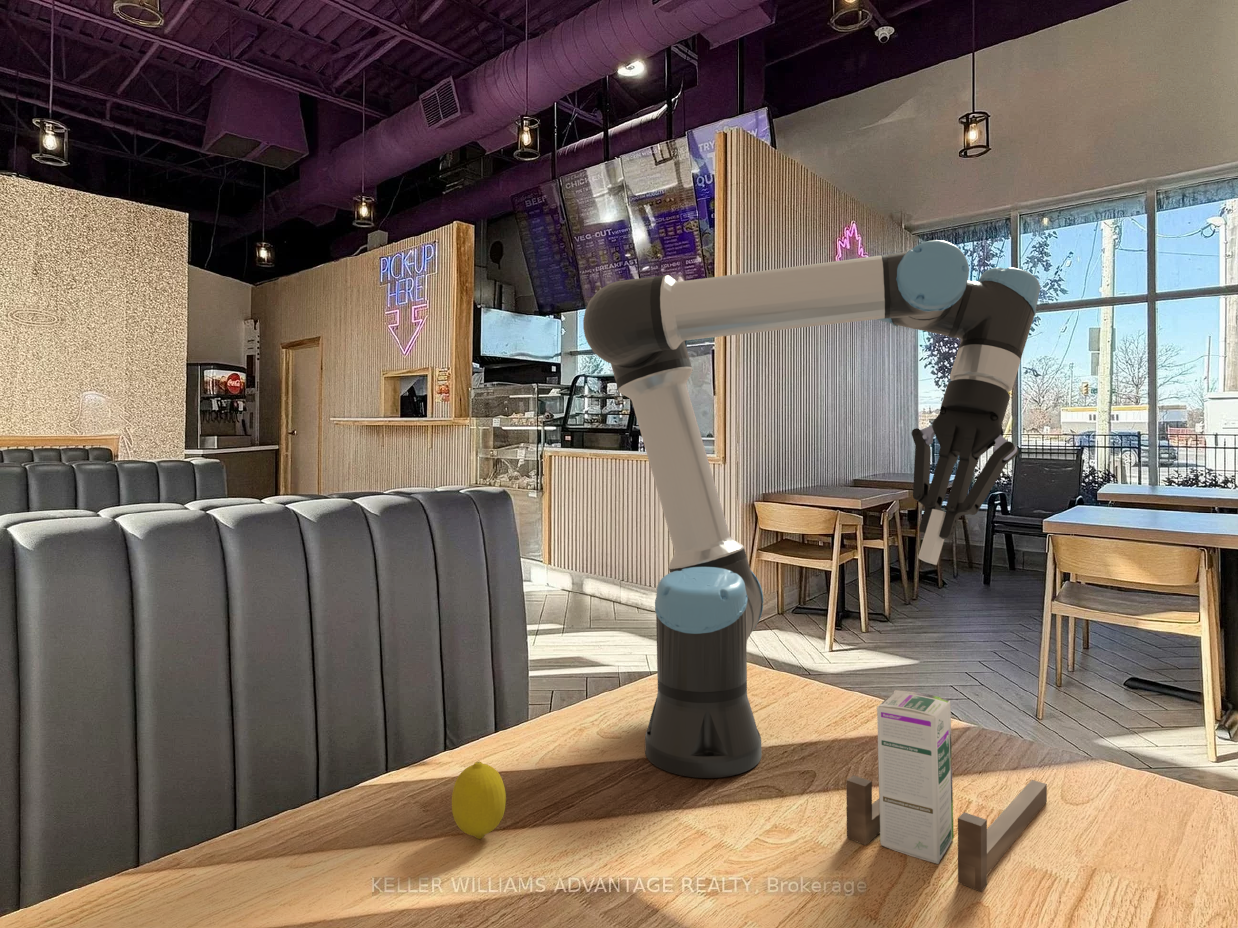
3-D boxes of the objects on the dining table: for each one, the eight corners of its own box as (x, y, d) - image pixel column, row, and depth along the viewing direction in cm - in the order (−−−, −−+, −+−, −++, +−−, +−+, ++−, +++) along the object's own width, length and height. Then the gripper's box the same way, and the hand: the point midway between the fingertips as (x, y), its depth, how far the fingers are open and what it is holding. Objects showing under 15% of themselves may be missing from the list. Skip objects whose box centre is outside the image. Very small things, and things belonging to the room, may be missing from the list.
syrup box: (939, 865, 69) (939, 715, 69) (877, 845, 73) (876, 702, 73) (954, 839, 74) (953, 698, 74) (894, 821, 78) (893, 687, 77)
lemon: (460, 858, 72) (459, 778, 72) (446, 832, 77) (444, 757, 77) (514, 843, 75) (512, 766, 74) (496, 819, 79) (495, 746, 79)
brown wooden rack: (846, 837, 75) (846, 779, 74) (933, 767, 90) (933, 719, 90) (981, 891, 65) (980, 825, 65) (1051, 802, 81) (1051, 749, 81)
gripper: (1041, 403, 92) (989, 581, 90) (938, 392, 101) (889, 554, 99) (1027, 381, 87) (971, 570, 85) (919, 372, 96) (867, 542, 94)
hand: (927, 561), depth 92 cm, fingers closed
